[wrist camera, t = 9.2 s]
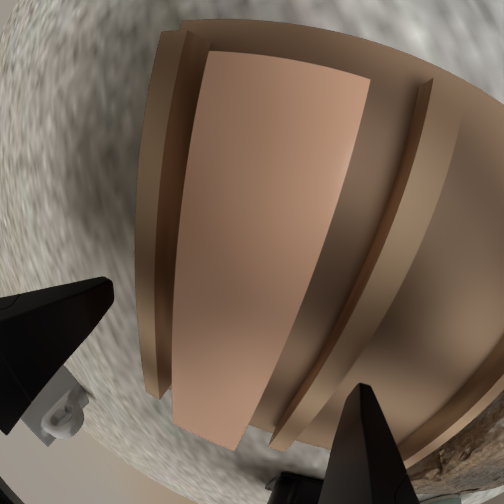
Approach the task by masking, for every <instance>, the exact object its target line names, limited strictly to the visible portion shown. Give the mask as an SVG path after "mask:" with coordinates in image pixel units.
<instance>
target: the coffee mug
mask: <svg viewBox="0 0 504 504" xmlns="http://www.w3.org/2000/svg"><path fill="white" fill-rule="evenodd" d="M88 402H89V400H88V397H87V395H86V393H85V392H84V390H83V389H82V387H81V386H80V385H79V383H78V382H77V381H76V379H75V378H74V377H73V376H72V374H71V373H70V372H69V371H68V370H67V369H66V367H65V366H64V365H62V366H61V368H60V369H59V370H58V371H57V372H56V373H55V375H54V376H53V377H52V378H51V379H50V381H49V382H48V383H47V384H46V386H45V387H44V388H43V389H42V390H41V392H40V393H39V394H38V395H37V397H36V398H35V399H34V401H33V402H32V403H31V405H30V406H29V407H28V408H27V410H26V411H25V412H24V414H23V415H22V416H21V419H22V421H23V422H24V423H25V424H26V425H27V426H28V427H29V428H30V429H31V430H32V432H33V433H34V434H35V435H36V436H37V437H38V438H39V439H40V440H41V441H42V442H43V443H44V444H45V445H46V446H47V447H48V446H49V445H50V444H51V443H52V442H53V441H54V440H55V439H56V438H58V439H61V440H65V439H69V438H70V437H72V436H74V435H75V433H77V432H78V431H79V429H80V428H81V426H82V425H83V422H84V413H83V410H82V409H83V408H84V407H85V406H86V405H87V404H88Z"/></svg>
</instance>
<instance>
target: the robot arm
mask: <svg viewBox="0 0 504 504" xmlns="http://www.w3.org/2000/svg"><path fill="white" fill-rule="evenodd" d="M113 302H114V289H113V282H112V281H111V280H110V279H108V278H106V277H103V276H102V277H97V278H92V279H88V280H83V281H78V282H73V283H69V284H64V285H59V286H54V287H50V288H45V289H40V290H35V291H31V292H26V293H22V294H17V295H12V296H7V297H1V298H0V430H1V431H2V432H3V433H4V434H5V435H8V434H9V433H10V431H11V430H12V428H13V427H14V426H15V424H16V423H17V422H18V420H19V419H20V418H21V416H22V415H23V414H24V412H25V411H26V410H27V408H28V407H29V406H30V405H31V403H32V402H33V401H34V399H35V398H36V397H37V395H38V394H39V393H40V392H41V390H42V389H43V388H44V387H45V386H46V384H47V383H48V382H49V381H50V379H51V378H52V377H53V376H54V375H55V373H56V372H57V371H58V370H59V369H60V368H61V366H62V365H63V364H64V363H65V362H66V361H67V359H68V358H69V357H70V356H71V355H72V354H73V352H74V351H75V350H76V349H77V348H78V347H79V346H80V344H81V343H82V342H83V341H84V340H85V339H86V338H87V337H88V336H89V334H90V333H91V332H92V331H93V329H94V328H95V327H96V325H97V324H98V323H99V321H100V320H101V319H102V317H103V316H104V315H105V313H106V312H107V311H108V309H109V308H110V307H111V305H112V304H113ZM265 489H267V490H271V491H272V493H271V495H270V498H269V500H268V503H267V504H420V502H419V500H418V497H417V495H416V493H415V490H414V488H413V485H412V483H411V480H410V477H409V475H408V474H407V470H406V467H405V465H404V462H403V460H402V457H401V455H400V452H399V450H398V447H397V445H396V442H395V440H394V437H393V435H392V432H391V430H390V428H389V425H388V423H387V421H386V418H385V416H384V414H383V411H382V409H381V407H380V404H379V402H378V400H377V398H376V395H375V393H374V391H373V389H372V387H371V386H370V385H368V384H364V383H358V384H357V385H356V386H355V388H354V389H353V390H352V391H351V393H350V394H349V395H348V396H347V398H346V400H345V403H344V407H343V410H342V414H341V417H340V420H339V424H338V427H337V430H336V433H335V437H334V440H333V444H332V448H331V453H330V458H329V462H328V467H327V471H326V475H325V479H324V482H323V481H318V480H313V479H309V478H304V477H300V476H296V475H292V474H289V473H280V474H279V475H278V476H277V477H275V478H274V479H273V480H272V481H270V482H269V483H268V484H267V485H266V486H265ZM0 504H24V503H23V502H22V501H21V499H20V498H19V497H18V496H17V495H16V494H15V493H14V492H13V491H12V490H11V489H10V488H9V486H8V485H7V484H6V483H5V482H4V480H3V479H2V478H1V477H0Z"/></svg>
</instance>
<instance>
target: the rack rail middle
mask: <svg viewBox="0 0 504 504" xmlns="http://www.w3.org/2000/svg"><path fill="white" fill-rule="evenodd" d="M465 96H466V93H464V92H462V91H460V90H459V89H457V88H455V87H453V86H451V85H449V84H447V83H445V82H443V81H441V80H439V79H437V78H435V77H433V78H432V79H430V80H429V81H427V82H426V83H424V84H423V85H421V86H420V87H419V91H418V96H417V101H416V106H415V110H414V114H413V118H412V123H411V127H410V131H409V134H408V138H407V142H406V145H405V149H404V153H403V156H402V159H401V163H400V166H399V169H398V173H397V176H396V179H395V182H394V185H393V188H392V191H391V194H390V197H389V200H388V203H387V206H386V208H385V211H384V214H383V217H382V219H381V222H380V225H379V227H378V230H377V233H376V235H375V238H374V240H373V243H372V245H371V248H370V250H369V253H368V255H367V257H366V260H365V262H364V264H363V267H362V269H361V271H360V274H359V276H358V278H357V280H356V283H355V285H354V287H353V289H352V291H351V294H350V296H349V298H348V300H347V302H346V304H345V306H344V308H343V310H342V312H341V314H340V316H339V318H338V320H337V322H336V324H335V326H334V328H333V330H332V332H331V334H330V336H329V338H328V340H327V342H326V344H325V345H324V347H323V349H322V351H321V353H320V355H319V356H318V358H317V360H316V362H315V364H314V365H313V367H312V369H311V371H310V372H309V374H308V376H307V377H306V379H305V381H304V382H303V384H302V386H301V387H300V389H299V391H298V392H297V394H296V396H295V397H294V399H293V400H292V402H291V404H290V405H289V407H288V408H287V410H286V411H285V413H284V415H283V416H282V418H281V419H280V421H279V422H278V424H277V425H276V427H275V429H274V432H273V435H272V438H271V440H270V443H269V446H268V447H269V448H272V449H275V450H278V451H282V452H285V451H286V450H287V448H288V447H289V446H290V445H291V444H292V443H293V442H294V441H295V440H296V439H297V437H298V436H299V435H300V434H301V433H302V432H303V431H304V429H305V428H306V427H307V426H308V425H309V423H310V422H311V421H312V420H313V419H314V417H315V416H316V415H317V414H318V412H319V411H320V410H321V409H322V407H323V406H324V405H325V404H326V402H327V401H328V400H329V398H330V397H331V396H332V395H333V393H334V392H335V391H336V389H337V388H338V386H339V385H340V384H341V382H342V381H343V380H344V378H345V377H346V375H347V374H348V372H349V371H350V370H351V368H352V367H353V365H354V364H355V362H356V361H357V359H358V358H359V356H360V355H361V353H362V352H363V350H364V349H365V347H366V345H367V344H368V342H369V341H370V339H371V337H372V336H373V334H374V333H375V331H376V329H377V328H378V326H379V324H380V323H381V321H382V319H383V317H384V316H385V314H386V312H387V310H388V309H389V307H390V305H391V303H392V301H393V299H394V298H395V296H396V294H397V292H398V290H399V288H400V286H401V284H402V282H403V280H404V278H405V276H406V274H407V272H408V270H409V268H410V266H411V264H412V262H413V260H414V257H415V255H416V253H417V251H418V249H419V246H420V244H421V242H422V239H423V237H424V235H425V232H426V230H427V228H428V225H429V223H430V220H431V217H432V215H433V212H434V210H435V207H436V204H437V202H438V199H439V196H440V193H441V190H442V187H443V184H444V181H445V178H446V175H447V172H448V168H449V165H450V162H451V158H452V155H453V151H454V147H455V143H456V139H457V135H458V131H459V127H460V122H461V118H462V113H463V108H464V102H465Z"/></svg>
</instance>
